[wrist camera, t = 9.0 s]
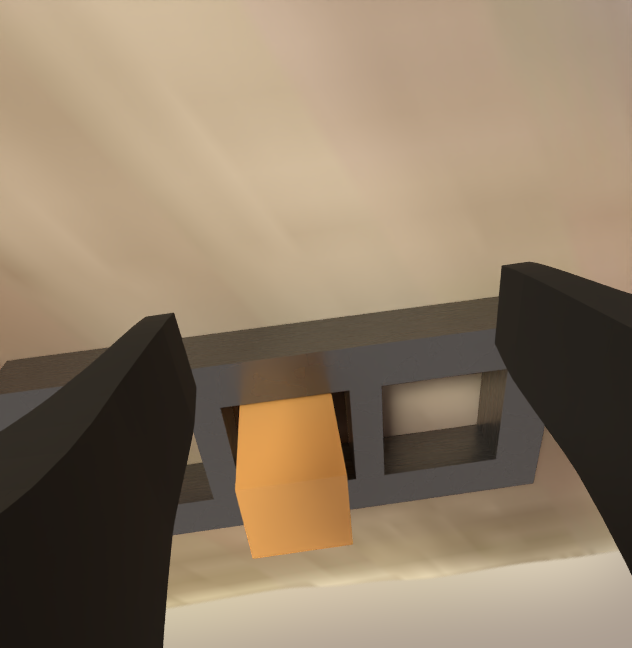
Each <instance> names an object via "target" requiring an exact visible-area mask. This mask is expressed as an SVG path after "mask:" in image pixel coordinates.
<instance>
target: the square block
mask: <svg viewBox="0 0 632 648" xmlns="http://www.w3.org/2000/svg"><path fill="white" fill-rule="evenodd" d="M235 492H236V496H237V500H238V504H239V508H240V511H241V515H242V519H243V523H244V527H245V531H246V534H247V538H248V542H249V546H250V550H251V553H252V557H253V559H255V558H262V557H269V556H275V555H282V554H289V553H296V552H303V551H310V550H317V549H324V548H331V547H338V546H345V545H352V544H353V541H352V529H351V517H350V505H349V494H348V482H347V473H346V468H345V462H344V457H343V452H342V447H341V442H340V436H339V431H338V426H337V421H336V416H335V410H334V405H333V400H332V395H331V393H326V394H318V395H311V396H304V397H296V398H289V399H282V400H274V401H267V402H260V403H252V404H245V405H240V411H239V429H238V447H237V465H236V483H235Z"/></svg>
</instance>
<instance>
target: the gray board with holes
mask: <svg viewBox="0 0 632 648" xmlns="http://www.w3.org/2000/svg"><path fill="white" fill-rule="evenodd" d="M498 301H499V297H492V298H484V299H477V300H469V301H461V302H454V303H446V304H438V305H431V306H423V307H416V308H408V309H400V310H393V311H385V312H378V313H370V314H362V315H355V316H347V317H339V318H332V319H324V320H317V321H309V322H301V323H294V324H286V325H278V326H271V327H263V328H256V329H248V330H240V331H233V332H225V333H217V334H210V335H202V336H195V337H187V338H182V341H183V344H184V347H185V351H186V354H187V357H188V360H189V364H190V367H191V370H192V374H193V377H194V380H195V383H196V387H197V390H196V410H195V424H194V430H193V432H194V435H195V439H196V442H197V445H198V448H199V452H200V455H201V458H202V462H203V463H199V464H191V465H186V470H185V474H184V479H183V484H182V489H181V493H180V498H179V503H178V508H177V512H176V517H175V524H174V530H173V535H177V534H184V533H191V532H198V531H205V530H212V529H219V528H226V527H233V526H240V525H244V523H243V519H242V515H241V511H240V508H239V504H238V500H237V496H236V492H235V483H236V465H237V447H238V430H237V425H236V421H235V417H234V413H233V409H232V406H238V405H245V404H252V403H260V402H267V401H274V400H282V399H289V398H296V397H304V396H311V395H318V394H326V393H333V392H340V391H344V394H345V406H346V418H347V430H348V442H349V443H342V444H341V447H342V452H343V457H344V462H345V468H346V473H347V482H348V494H349V505H350V510H351V509H358V508H365V507H372V506H379V505H386V504H393V503H400V502H407V501H413V500H420V499H427V498H434V497H441V496H448V495H455V494H462V493H469V492H476V491H483V490H490V489H497V488H504V487H511V486H518V485H525V484H532V483H533V482H534V477H535V472H536V467H537V462H538V457H539V452H540V446H541V441H542V436H543V431H544V426H545V425H544V424H543V422H542V421H541V419H540V418H539V417H538V415H537V414H536V412H535V411H534V410H533V408H532V407H531V405H530V404H529V403H528V401H527V400H526V398H525V397H524V395H523V394H522V393H521V391H520V390H519V388H518V387H517V385H516V384H515V382H514V381H513V379H512V378H511V376H510V374H509V372H508V370H507V368H506V366H505V364H504V362H503V360H502V358H501V356H500V354H499V352H498V349H497V347H496V345H495V334H496V323H497V312H498ZM107 349H108V348H103V349H95V350H88V351H80V352H73V353H65V354H57V355H50V356H42V357H35V358H27V359H19V360H12V361H7V362H6V363H5V364H4V366H3V367H2V368H1V370H0V431H2V430H3V429H5V428H6V427H8V426H9V425H11V424H12V423H14V422H15V421H17V420H18V419H20V418H21V417H23V416H24V415H26V414H27V413H29V412H30V411H32V410H33V409H34V408H36V407H37V406H39V405H40V404H41V403H43V402H44V401H45V400H47V399H48V398H49V397H51V396H52V395H53V394H54V393H56V392H57V391H58V390H59V389H61V388H62V387H63V386H64V385H66V384H67V383H68V382H69V381H71V380H72V379H73V378H74V377H75V376H77V375H78V374H79V373H80V372H82V371H83V370H84V369H85V368H87V367H88V366H89V365H90V364H91V363H92V362H94V361H95V360H96V359H97V358H98V357H99V356H100V355H101V354H103V353H104V352H105V351H106V350H107ZM480 372H482V380H481V390H480V400H479V410H478V420H477V425H471V426H464V427H456V428H449V429H442V430H435V431H428V432H421V433H414V434H406V435H399V436H392V437H385V438H383V418H382V388H381V386H385V385H392V384H399V383H407V382H414V381H421V380H429V379H436V378H443V377H451V376H458V375H465V374H473V373H480Z"/></svg>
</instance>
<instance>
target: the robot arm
mask: <svg viewBox="0 0 632 648" xmlns="http://www.w3.org/2000/svg"><path fill="white" fill-rule="evenodd" d="M495 345H496V347H497V349H498V352H499V354H500V356H501V358H502V360H503V362H504V364H505V366H506V368H507V370H508V372H509V374H510V376H511V378H512V379H513V381H514V382H515V384H516V385H517V387H518V388H519V390H520V391H521V393H522V394H523V395H524V397H525V398H526V400H527V401H528V403H529V404H530V405H531V407H532V408H533V410H534V411H535V412H536V414H537V415H538V417H539V418H540V419H541V421H542V422H543V424H544V425H545V426H546V428H547V429H548V431H549V432H550V434H551V435H552V436H553V438H554V439H555V441H556V442H557V443H558V445H559V446H560V448H561V449H562V450H563V452H564V453H565V455H566V456H567V458H568V459H569V461H570V462H571V464H572V465H573V467H574V468H575V470H576V471H577V473H578V475H579V476H580V478H581V480H582V482H583V484H584V485H585V487H586V489H587V491H588V493H589V494H590V496H591V498H592V500H593V502H594V503H595V505H596V507H597V509H598V511H599V512H600V514H601V516H602V518H603V520H604V522H605V524H606V526H607V527H608V529H609V531H610V533H611V535H612V537H613V539H614V541H615V543H616V545H617V547H618V549H619V551H620V553H621V554H622V556H623V558H624V560H625V562H626V564H627V566H628V568H629V570H630V573H631V575H632V294H630V293H626V292H623V291H620V290H617V289H614V288H611V287H609V286H606V285H603V284H600V283H597V282H594V281H591V280H588V279H585V278H582V277H580V276H577V275H574V274H571V273H568V272H565V271H562V270H559V269H556V268H553V267H549V266H546V265H542V264H538V263H533V262H524V263H517V264H510V265H503V266H502V269H501V280H500V291H499V301H498V312H497V323H496V334H495ZM196 390H197V387H196V383H195V380H194V377H193V374H192V370H191V367H190V364H189V360H188V357H187V354H186V351H185V347H184V344H183V341H182V337H181V334H180V331H179V328H178V324H177V321H176V318H175V314H174V313H169V314H162V315H155V316H148V317H145V318H144V319H142V320H141V321H139V322H138V323H137V324H136V325H134V326H133V327H132V328H131V329H130V330H129V331H127V332H126V333H125V334H124V335H123V336H122V337H121V338H119V339H118V340H117V341H116V342H115V343H114V344H113V345H112V346H111V347H109V348H108V349H107V350H106V351H105V352H104V353H103V354H101V355H100V356H99V357H98V358H97V359H96V360H95V361H94V362H92V363H91V364H90V365H89V366H88V367H87V368H85V369H84V370H83V371H82V372H80V373H79V374H78V375H77V376H75V377H74V378H73V379H72V380H71V381H69V382H68V383H67V384H66V385H64V386H63V387H62V388H61V389H59V390H58V391H57V392H56V393H54V394H53V395H52V396H51V397H49V398H48V399H47V400H45V401H44V402H43V403H41V404H40V405H39V406H37V407H36V408H34V409H33V410H32V411H30V412H29V413H27V414H26V415H24V416H23V417H21V418H20V419H18V420H17V421H15V422H14V423H12V424H11V425H9V426H8V427H6V428H5V429H3V430H2V431H0V648H163V640H164V624H165V613H166V600H167V587H168V576H169V566H170V556H171V545H172V536H173V530H174V524H175V517H176V512H177V508H178V503H179V498H180V493H181V489H182V484H183V479H184V474H185V470H186V465H187V460H188V455H189V451H190V446H191V441H192V436H193V430H194V424H195V410H196Z"/></svg>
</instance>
